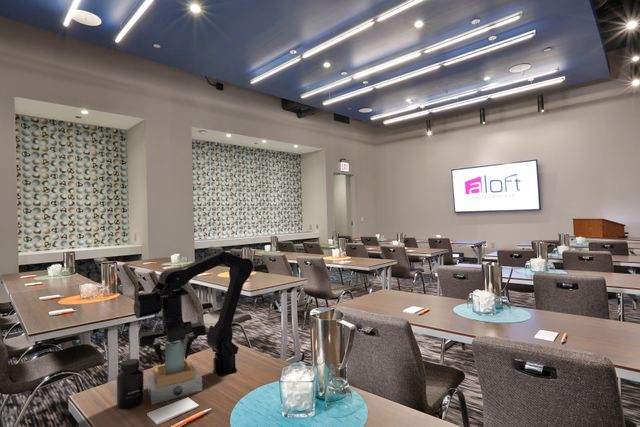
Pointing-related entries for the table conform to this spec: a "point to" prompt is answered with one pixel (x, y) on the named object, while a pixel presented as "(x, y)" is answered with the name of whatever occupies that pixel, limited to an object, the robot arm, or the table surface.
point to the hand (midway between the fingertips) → (173, 361)
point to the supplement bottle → (130, 385)
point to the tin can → (174, 357)
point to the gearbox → (173, 383)
